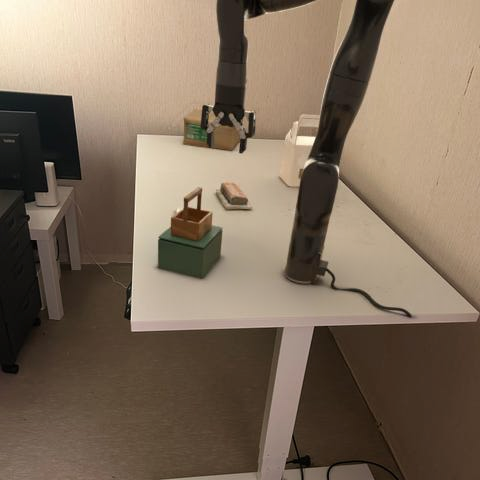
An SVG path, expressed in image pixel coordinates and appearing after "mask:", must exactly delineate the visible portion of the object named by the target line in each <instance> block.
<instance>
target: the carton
mask: <svg viewBox="0 0 480 480" xmlns="http://www.w3.org/2000/svg"><path fill="white" fill-rule="evenodd" d="M222 240H223V229H222V230H221V231H220V232H219V233H218V234H217V235H216V236H215V237H214V238H213V237H211V236H206V235H205V236H204V237H203V238H202V239H201V240H200V241H198V242H197V241H193V240H189V239H184V238H180V237H176V236H171V226H170V227H168V228H167V229H166V230H165V231H163V232H162V233H161V234H160V235H158V239H157V268H158V269H161V270H165V271H169V272H173V273H176V274H181V275H185V276H189V277H193V278H197V279H203V278H204V277H205V276H206V275H207V273H208V272H209V271H210V270H211V269H212V268H213V266H214V265H215V264H216V262H218V260H219V259H220V258H221V256H222V255H221V253H222V244H223V243H222V242H223V241H222Z"/></svg>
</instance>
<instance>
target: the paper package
mask: <svg viewBox="0 0 480 480" xmlns="http://www.w3.org/2000/svg"><path fill="white" fill-rule="evenodd" d="M201 116H202V109H197V108H194V109H193V110H192V111H191V112H189V113H187V114H186V116H184V117H183V145H186V146H194V147H195V146H196V147H204V148H209V145H207V132H206V131H205V130H204V129H201V127H200V126H201ZM215 118H216V117H215V115H214V113H213V111H212V112H211V114H209V121H208V125H209V126H210V125H211V123H212V122H213V121H214V120H215ZM242 122H243V123H244V118H243V119H242ZM213 132H214V146H213V148H212V149H219V150H227V151H232V150H234V148H235V147H236V146H237V144H238V143H240V139H241V136H240V134H239V132H238V131H237V130H236V128H235V127H233V128H232V127H228V126H221V125H220V124H219V125H218V126H217V127H216V129H215V130H214V131H213Z"/></svg>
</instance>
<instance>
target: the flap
mask: <svg viewBox="0 0 480 480" xmlns="http://www.w3.org/2000/svg"><path fill="white" fill-rule="evenodd" d="M221 230H223V227H222V226H217V225H213V224H212V229H211V230H210V231H209V232H208V233H207V234H206V236H211V237H213V238H214V237H215V236H216V235H217V234H218V233H219V232H220V231H221Z"/></svg>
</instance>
